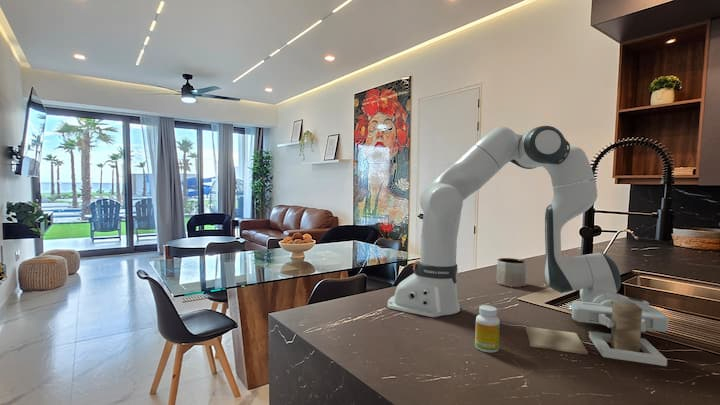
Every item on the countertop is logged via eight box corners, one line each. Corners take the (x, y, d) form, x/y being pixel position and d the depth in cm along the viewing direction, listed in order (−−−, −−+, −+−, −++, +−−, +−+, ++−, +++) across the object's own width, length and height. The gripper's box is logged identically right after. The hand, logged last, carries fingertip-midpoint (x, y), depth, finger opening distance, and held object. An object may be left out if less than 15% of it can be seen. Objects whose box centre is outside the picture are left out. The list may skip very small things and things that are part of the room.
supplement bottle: (500, 354, 84) (502, 312, 84) (476, 351, 85) (477, 310, 85) (496, 344, 89) (498, 305, 89) (473, 342, 90) (475, 303, 90)
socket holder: (602, 356, 84) (603, 350, 84) (588, 336, 95) (589, 331, 95) (666, 366, 80) (667, 359, 80) (644, 344, 91) (644, 338, 91)
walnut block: (616, 352, 86) (618, 306, 86) (610, 345, 90) (612, 300, 90) (639, 356, 85) (642, 308, 84) (632, 348, 89) (634, 303, 88)
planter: (499, 287, 142) (500, 262, 142) (493, 280, 153) (494, 257, 152) (529, 288, 140) (530, 264, 140) (521, 281, 151) (522, 258, 151)
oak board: (530, 346, 89) (530, 343, 89) (525, 328, 100) (525, 326, 100) (587, 354, 85) (587, 352, 85) (575, 335, 96) (575, 332, 96)
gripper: (566, 292, 103) (577, 307, 90) (654, 301, 96) (680, 319, 83) (564, 315, 103) (576, 333, 90) (652, 325, 96) (678, 346, 83)
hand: (627, 326), depth 86 cm, fingers closed on walnut block, 4 cm apart
